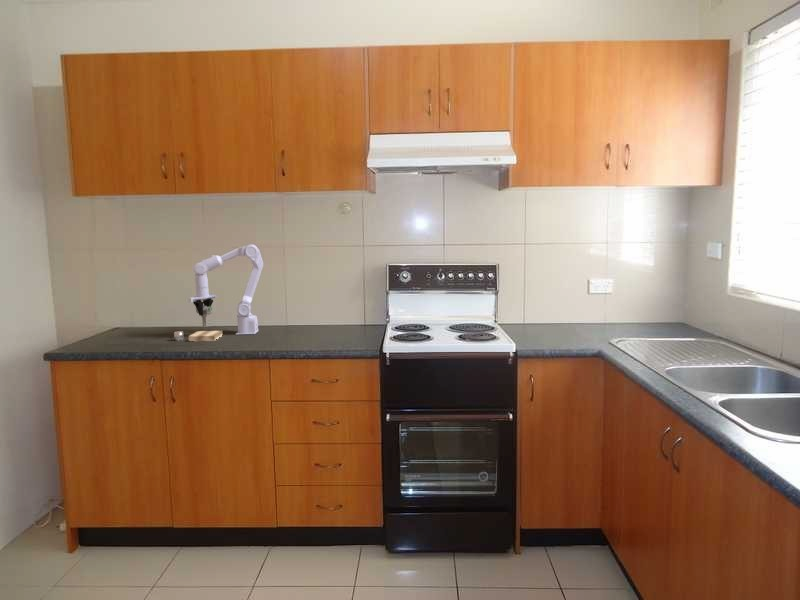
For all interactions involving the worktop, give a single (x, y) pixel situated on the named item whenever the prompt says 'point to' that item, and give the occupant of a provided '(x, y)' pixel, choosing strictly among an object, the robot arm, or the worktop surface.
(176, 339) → the steel bushing
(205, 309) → the mechanical component
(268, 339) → the worktop surface
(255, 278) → the robot arm
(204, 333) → the stand
